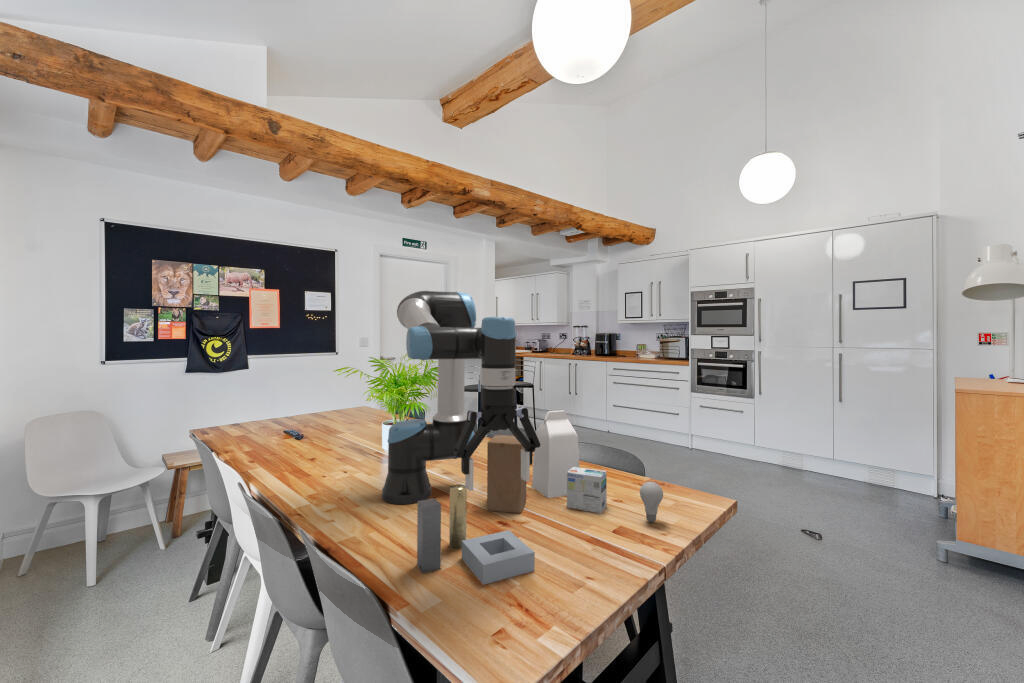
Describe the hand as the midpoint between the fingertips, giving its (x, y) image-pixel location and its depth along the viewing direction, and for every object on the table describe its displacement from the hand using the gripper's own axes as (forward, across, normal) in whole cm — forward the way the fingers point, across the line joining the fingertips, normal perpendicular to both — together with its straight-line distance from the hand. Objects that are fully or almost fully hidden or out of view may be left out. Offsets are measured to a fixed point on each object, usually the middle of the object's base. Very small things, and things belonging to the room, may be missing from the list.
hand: (498, 484), depth 96 cm
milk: (+18, +38, +35) cm, 54 cm away
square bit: (+18, -14, +6) cm, 23 cm away
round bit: (+18, -4, +13) cm, 22 cm away
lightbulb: (+18, +47, +2) cm, 50 cm away
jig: (+18, 0, 0) cm, 18 cm away
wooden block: (+18, +17, +30) cm, 39 cm away
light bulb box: (+18, +38, +18) cm, 46 cm away
